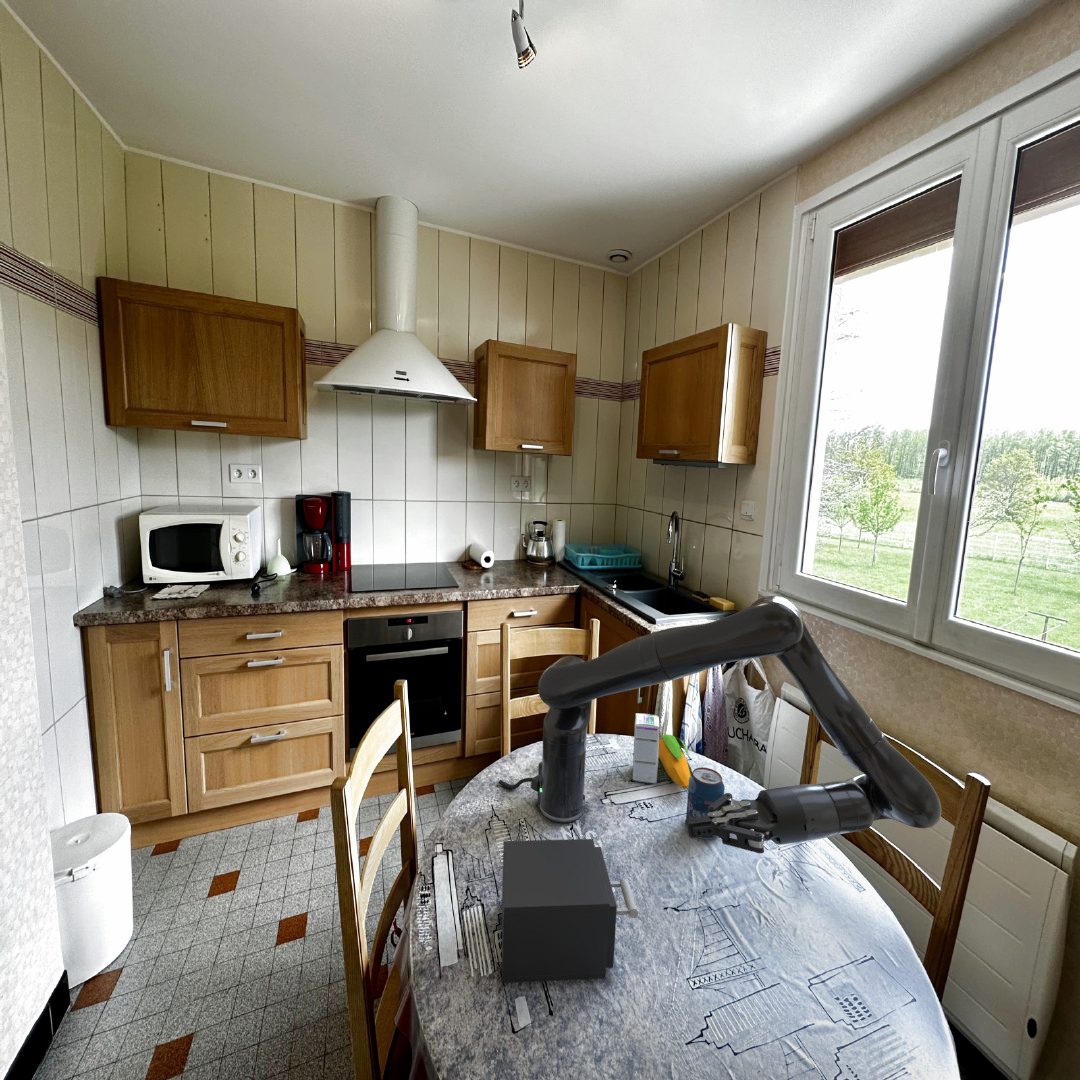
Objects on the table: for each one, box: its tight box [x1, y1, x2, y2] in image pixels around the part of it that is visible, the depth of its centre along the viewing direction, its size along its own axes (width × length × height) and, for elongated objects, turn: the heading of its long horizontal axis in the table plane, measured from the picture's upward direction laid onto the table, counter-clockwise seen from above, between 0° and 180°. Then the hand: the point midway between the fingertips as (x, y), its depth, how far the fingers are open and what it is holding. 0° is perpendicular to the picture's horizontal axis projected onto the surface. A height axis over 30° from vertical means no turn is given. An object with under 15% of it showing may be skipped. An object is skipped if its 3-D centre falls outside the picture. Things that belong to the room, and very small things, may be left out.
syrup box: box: [632, 712, 660, 785], centre depth 121 cm, size 6×6×14 cm
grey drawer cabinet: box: [501, 838, 610, 984], centre depth 77 cm, size 15×13×12 cm
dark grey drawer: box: [595, 846, 639, 969], centre depth 77 cm, size 18×12×10 cm, turn 94°
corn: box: [658, 733, 693, 790], centre depth 122 cm, size 7×8×20 cm
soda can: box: [685, 766, 726, 840], centre depth 103 cm, size 7×7×12 cm
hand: (687, 828), depth 78 cm, fingers closed
